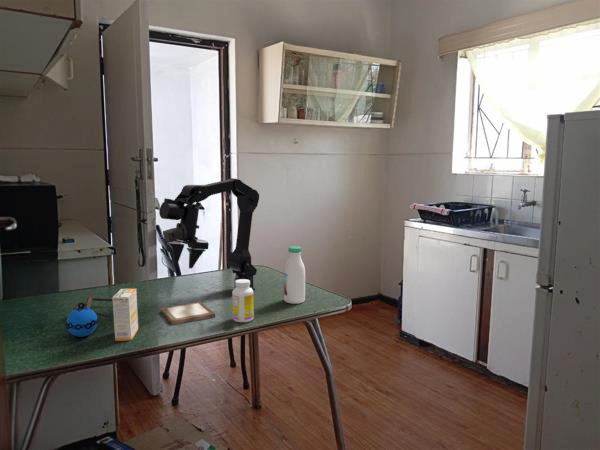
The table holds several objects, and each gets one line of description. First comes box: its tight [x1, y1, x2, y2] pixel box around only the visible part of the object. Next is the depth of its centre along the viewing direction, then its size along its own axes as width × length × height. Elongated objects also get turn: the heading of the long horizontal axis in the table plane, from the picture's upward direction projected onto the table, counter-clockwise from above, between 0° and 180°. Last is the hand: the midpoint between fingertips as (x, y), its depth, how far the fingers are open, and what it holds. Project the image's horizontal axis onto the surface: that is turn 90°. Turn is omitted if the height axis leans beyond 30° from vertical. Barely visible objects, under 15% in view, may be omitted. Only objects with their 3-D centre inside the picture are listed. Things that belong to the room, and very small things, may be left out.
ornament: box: [65, 302, 99, 338], centre depth 135 cm, size 9×9×10 cm
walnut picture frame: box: [160, 301, 216, 326], centre depth 155 cm, size 14×14×1 cm
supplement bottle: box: [231, 279, 255, 323], centre depth 150 cm, size 7×7×13 cm
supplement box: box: [111, 288, 139, 342], centre depth 136 cm, size 8×5×13 cm, turn 5°
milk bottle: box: [283, 245, 306, 305], centre depth 168 cm, size 8×8×20 cm
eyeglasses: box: [70, 295, 114, 322], centre depth 155 cm, size 15×15×5 cm
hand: (182, 266), depth 162 cm, fingers open, 9 cm apart
